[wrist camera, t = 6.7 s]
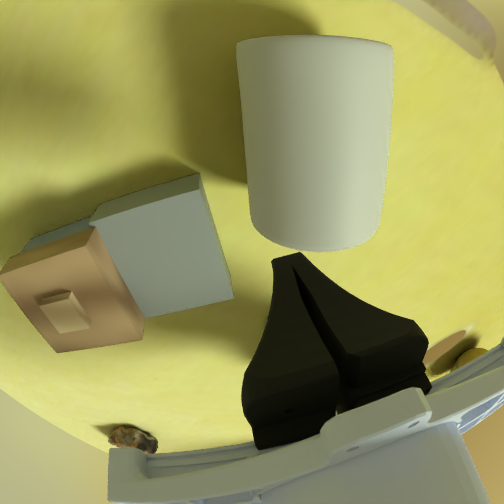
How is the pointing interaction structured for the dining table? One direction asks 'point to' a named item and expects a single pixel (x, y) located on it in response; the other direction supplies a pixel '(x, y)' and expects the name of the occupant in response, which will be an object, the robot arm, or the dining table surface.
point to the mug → (316, 137)
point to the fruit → (468, 357)
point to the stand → (166, 246)
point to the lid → (74, 293)
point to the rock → (133, 439)
